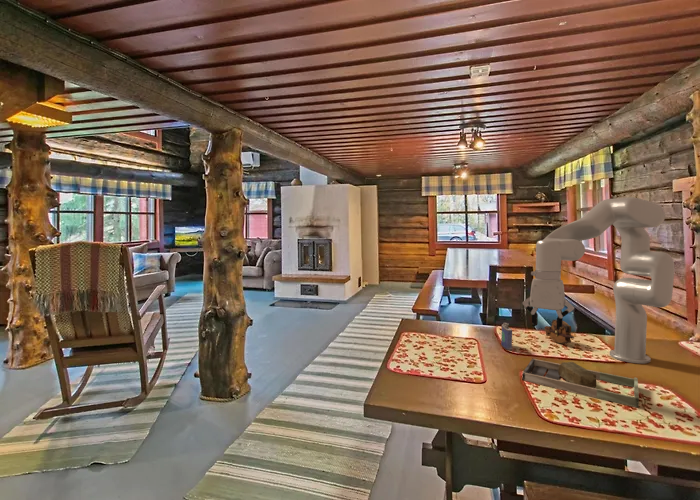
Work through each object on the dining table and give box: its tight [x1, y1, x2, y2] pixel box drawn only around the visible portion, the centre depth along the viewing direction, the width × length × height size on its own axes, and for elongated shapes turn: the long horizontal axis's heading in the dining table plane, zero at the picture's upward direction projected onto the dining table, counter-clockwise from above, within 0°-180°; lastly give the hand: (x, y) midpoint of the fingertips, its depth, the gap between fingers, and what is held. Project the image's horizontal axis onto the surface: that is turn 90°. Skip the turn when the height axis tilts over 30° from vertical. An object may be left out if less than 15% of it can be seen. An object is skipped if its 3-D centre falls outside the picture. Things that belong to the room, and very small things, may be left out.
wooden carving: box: [544, 319, 575, 345], centre depth 156 cm, size 16×5×10 cm, turn 10°
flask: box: [500, 322, 513, 351], centre depth 151 cm, size 9×3×11 cm, turn 172°
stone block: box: [558, 361, 598, 389], centre depth 115 cm, size 6×12×5 cm, turn 6°
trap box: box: [521, 358, 640, 408], centre depth 115 cm, size 16×31×3 cm, turn 51°
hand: (546, 326), depth 120 cm, fingers open, 6 cm apart
